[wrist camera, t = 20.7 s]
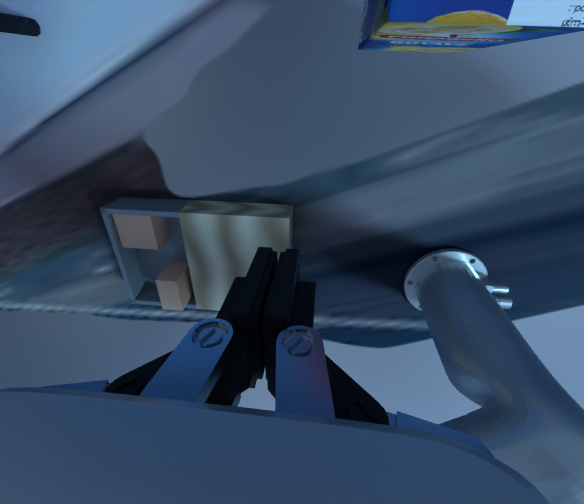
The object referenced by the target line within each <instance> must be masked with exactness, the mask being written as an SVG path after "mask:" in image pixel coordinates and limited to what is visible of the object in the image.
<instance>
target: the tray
mask: <svg viewBox="0 0 584 504" xmlns="http://www.w3.org/2000/svg"><path fill="white" fill-rule="evenodd" d="M190 201H191V200H181V199H161V198H140V197H118V198H117V199H115V200H113V201H111V202H110V203H108V204H106V205H105V206H103V207H101V208H100V211H101V214H102V217H103V220H104V223H105V226H106V228H107V231H108V234H109V237H110V240H111V243H112V246H113V249H114V252H115V255H116V258H117V261H118V264H119V267H120V270H121V273H122V276H123V279H124V282H125V285H126V288H127V291H128V294H129V297H130V300H131V303H134V304H146V305H158V306H162V303H161V300H160V296H159V292H158V289H157V285H156V281H155V280H156V278H157V277H158V276H159V275H160V274H161V273H162V271H163V270H164V269H165V268H166V267H167V266H168V264H169V263H170V262H171V261H172V260H178V261H188V260H187V255H186V250H185V245H184V240H183V235H182V230H181V225H180V220H179V215H178V212H179V211H180V210H181V209H182V208H184V207H185V206H186V205H187V204H188V203H189V202H190ZM112 214H122V215H140V216H159V217H164V221H165V226H166V230H167V235H168V241H167V242H166V243H165V244H164V245H163V246H162V247H161V248H160V249H159V250H155V249H139V248H123V247H122V244H121V241H120V237H119V234H118V231H117V228H116V225H115V222H114V219H113V216H112ZM185 308H194V309H197V305H196V300H195V295H194V294H193V296H192V297H191V299H190V300H189V302H188V304H187V305H186V307H185Z"/></svg>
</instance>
